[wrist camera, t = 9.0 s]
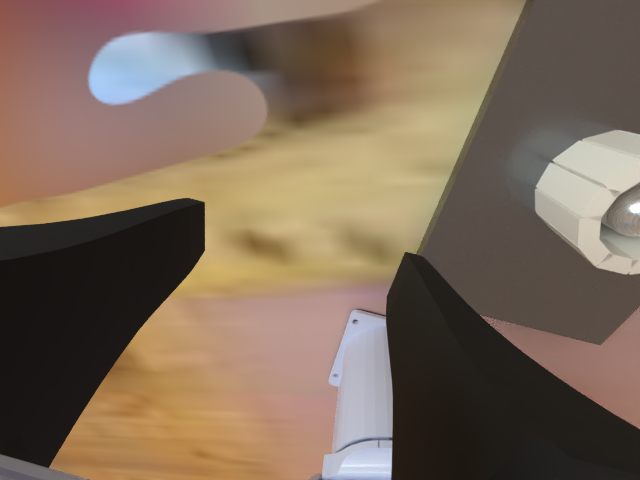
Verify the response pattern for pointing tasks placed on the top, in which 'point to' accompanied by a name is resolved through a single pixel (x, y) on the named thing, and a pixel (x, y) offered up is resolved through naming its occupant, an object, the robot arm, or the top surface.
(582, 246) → the ring
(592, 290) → the steel tile with stud
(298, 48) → the top surface
